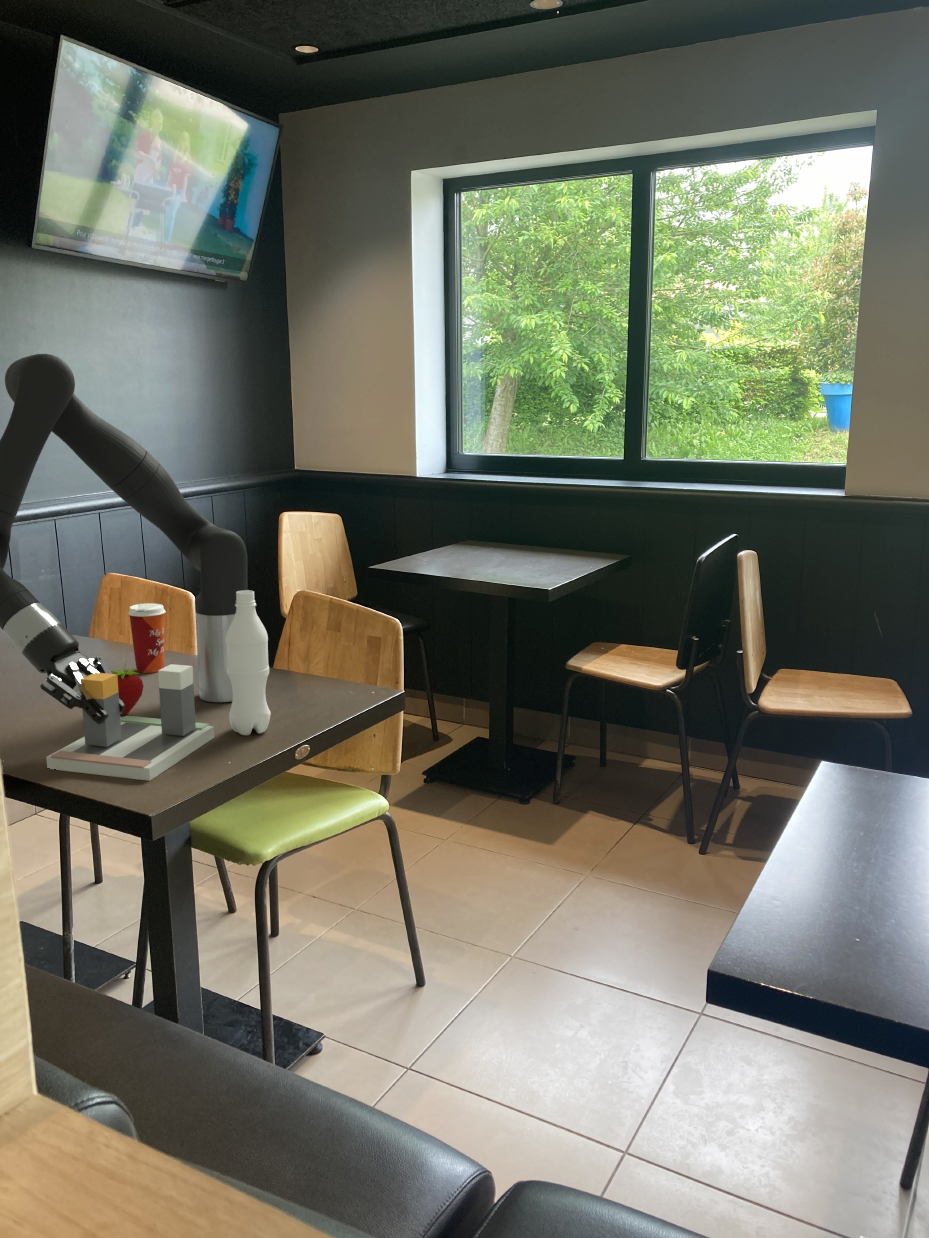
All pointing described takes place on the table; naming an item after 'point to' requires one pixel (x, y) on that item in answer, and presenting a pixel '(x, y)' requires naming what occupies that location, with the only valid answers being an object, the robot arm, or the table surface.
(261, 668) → the water bottle
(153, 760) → the grey base plate
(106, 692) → the orange-topped grey pillar
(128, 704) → the strawberry
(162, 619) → the paper cup
